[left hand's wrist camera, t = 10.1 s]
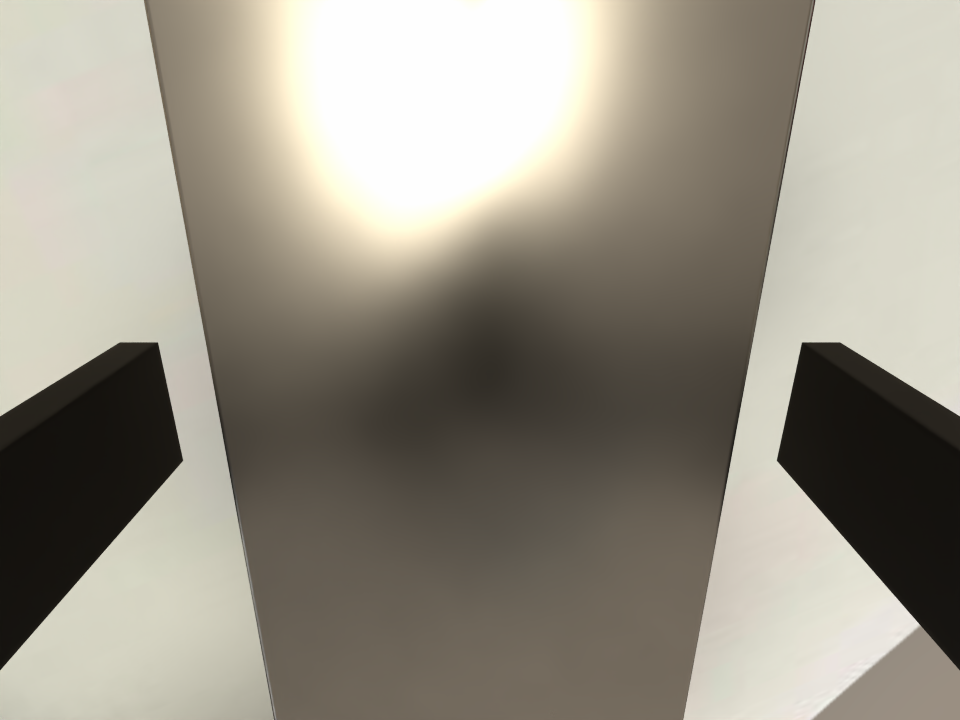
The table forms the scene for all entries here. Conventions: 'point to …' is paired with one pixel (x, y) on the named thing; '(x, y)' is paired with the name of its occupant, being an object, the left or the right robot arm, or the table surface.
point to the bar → (479, 330)
